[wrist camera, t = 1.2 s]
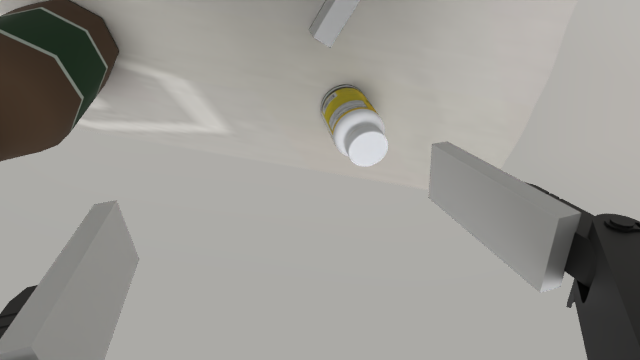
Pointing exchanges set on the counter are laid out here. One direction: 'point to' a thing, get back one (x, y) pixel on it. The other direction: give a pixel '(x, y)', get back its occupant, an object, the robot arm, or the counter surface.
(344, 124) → the supplement bottle
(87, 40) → the beer bottle
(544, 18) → the counter surface
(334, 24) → the wall
